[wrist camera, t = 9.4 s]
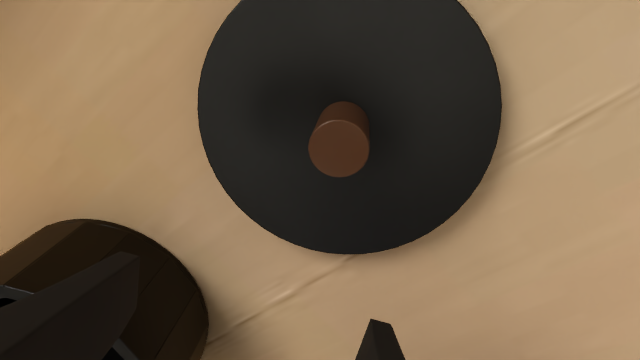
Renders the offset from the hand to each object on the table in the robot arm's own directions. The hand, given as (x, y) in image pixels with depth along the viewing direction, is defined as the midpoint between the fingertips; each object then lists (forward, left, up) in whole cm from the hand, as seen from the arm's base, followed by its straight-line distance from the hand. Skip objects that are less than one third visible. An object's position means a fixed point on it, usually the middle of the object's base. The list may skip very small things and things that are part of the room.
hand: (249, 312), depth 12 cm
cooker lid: (+3, -3, -9) cm, 10 cm away
